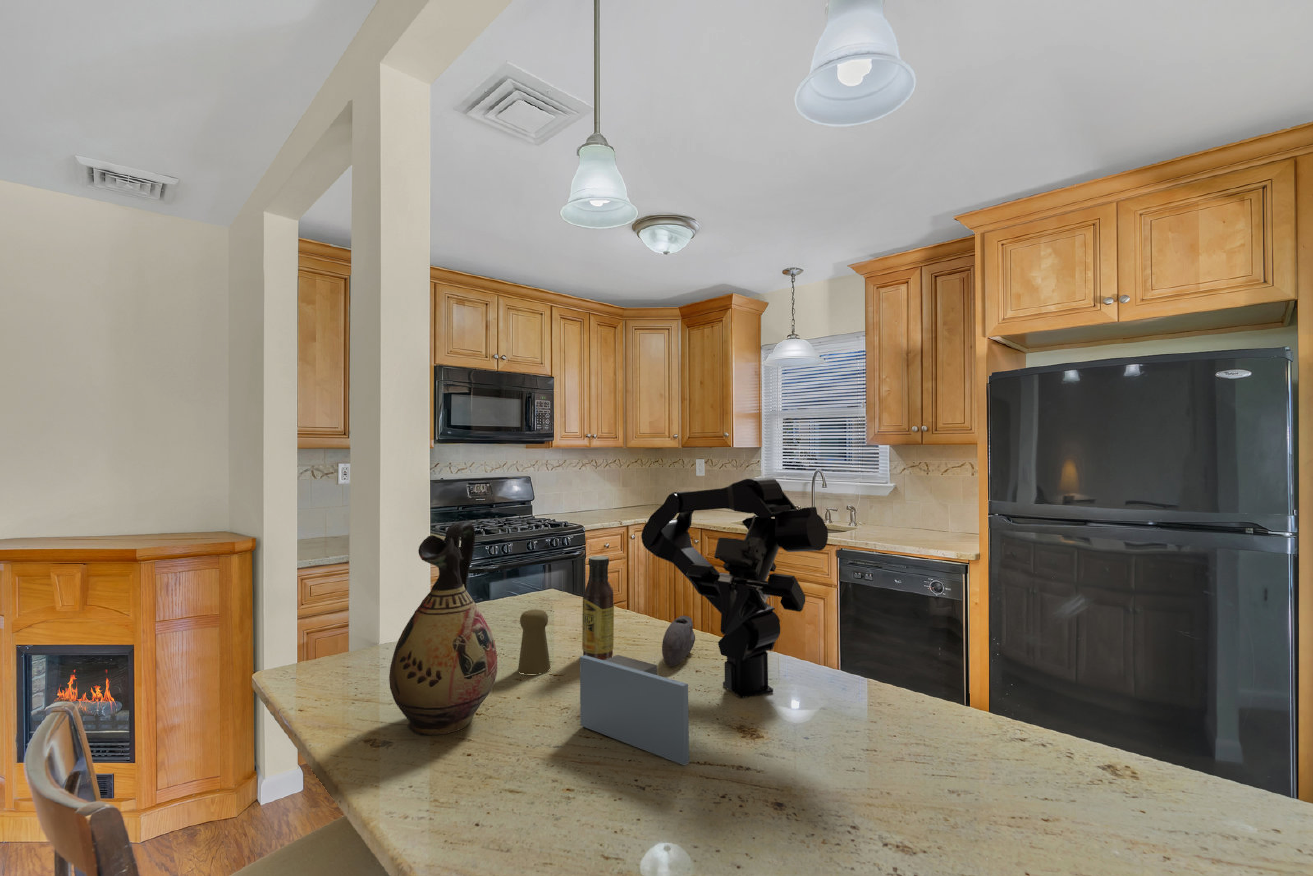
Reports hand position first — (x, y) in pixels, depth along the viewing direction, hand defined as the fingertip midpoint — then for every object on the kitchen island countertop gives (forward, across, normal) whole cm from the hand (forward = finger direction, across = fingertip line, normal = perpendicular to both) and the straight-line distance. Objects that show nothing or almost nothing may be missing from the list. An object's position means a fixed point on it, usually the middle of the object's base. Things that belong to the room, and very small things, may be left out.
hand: (723, 633), depth 91 cm
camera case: (+16, -12, +3) cm, 20 cm away
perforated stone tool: (-4, -23, +23) cm, 33 cm away
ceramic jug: (+27, -34, -7) cm, 44 cm away
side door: (+19, -7, 0) cm, 20 cm away
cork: (+11, -41, +8) cm, 43 cm away
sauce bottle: (+2, -36, +17) cm, 40 cm away
